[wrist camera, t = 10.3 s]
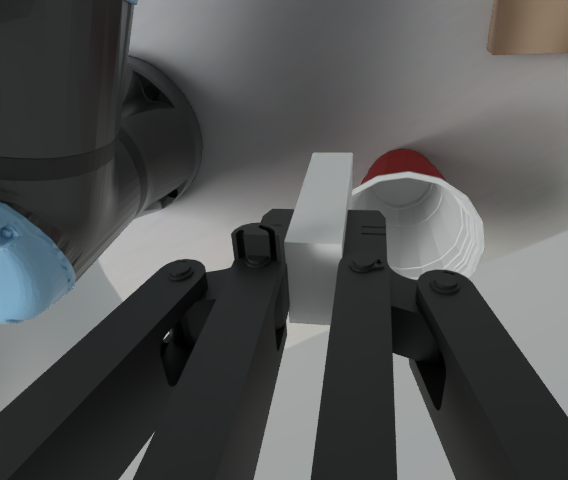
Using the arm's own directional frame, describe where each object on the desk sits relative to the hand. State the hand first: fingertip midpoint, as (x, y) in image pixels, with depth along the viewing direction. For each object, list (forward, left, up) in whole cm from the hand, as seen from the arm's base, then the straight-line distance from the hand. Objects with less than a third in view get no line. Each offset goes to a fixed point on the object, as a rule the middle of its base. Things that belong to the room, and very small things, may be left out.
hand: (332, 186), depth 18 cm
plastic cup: (+4, -10, -25) cm, 27 cm away
